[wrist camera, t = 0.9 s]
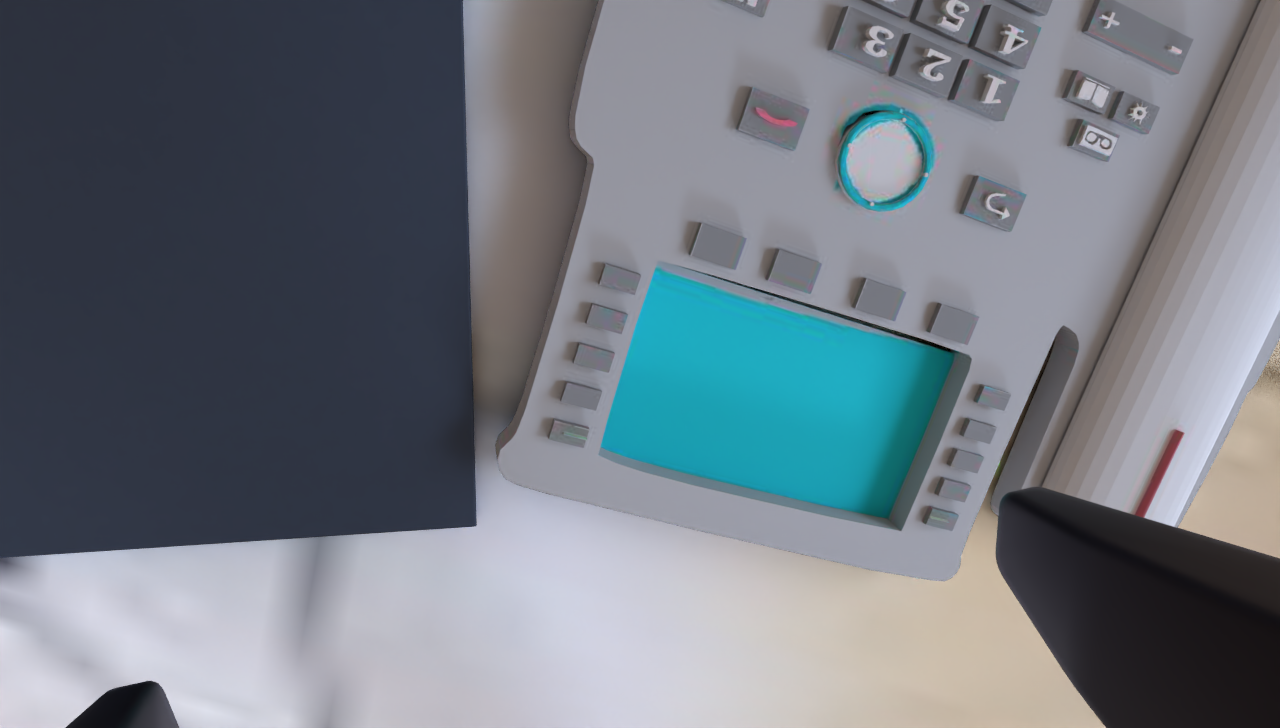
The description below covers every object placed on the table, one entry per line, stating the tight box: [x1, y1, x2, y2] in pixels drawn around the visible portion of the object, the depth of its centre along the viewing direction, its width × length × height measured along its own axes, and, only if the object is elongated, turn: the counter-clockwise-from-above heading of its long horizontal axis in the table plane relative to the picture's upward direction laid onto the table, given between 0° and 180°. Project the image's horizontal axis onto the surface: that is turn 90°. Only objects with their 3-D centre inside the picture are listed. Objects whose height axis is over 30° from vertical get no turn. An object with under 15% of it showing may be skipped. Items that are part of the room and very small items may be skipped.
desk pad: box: [0, 0, 477, 558], centre depth 20 cm, size 16×14×1 cm
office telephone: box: [495, 0, 1280, 581], centre depth 23 cm, size 23×3×20 cm
